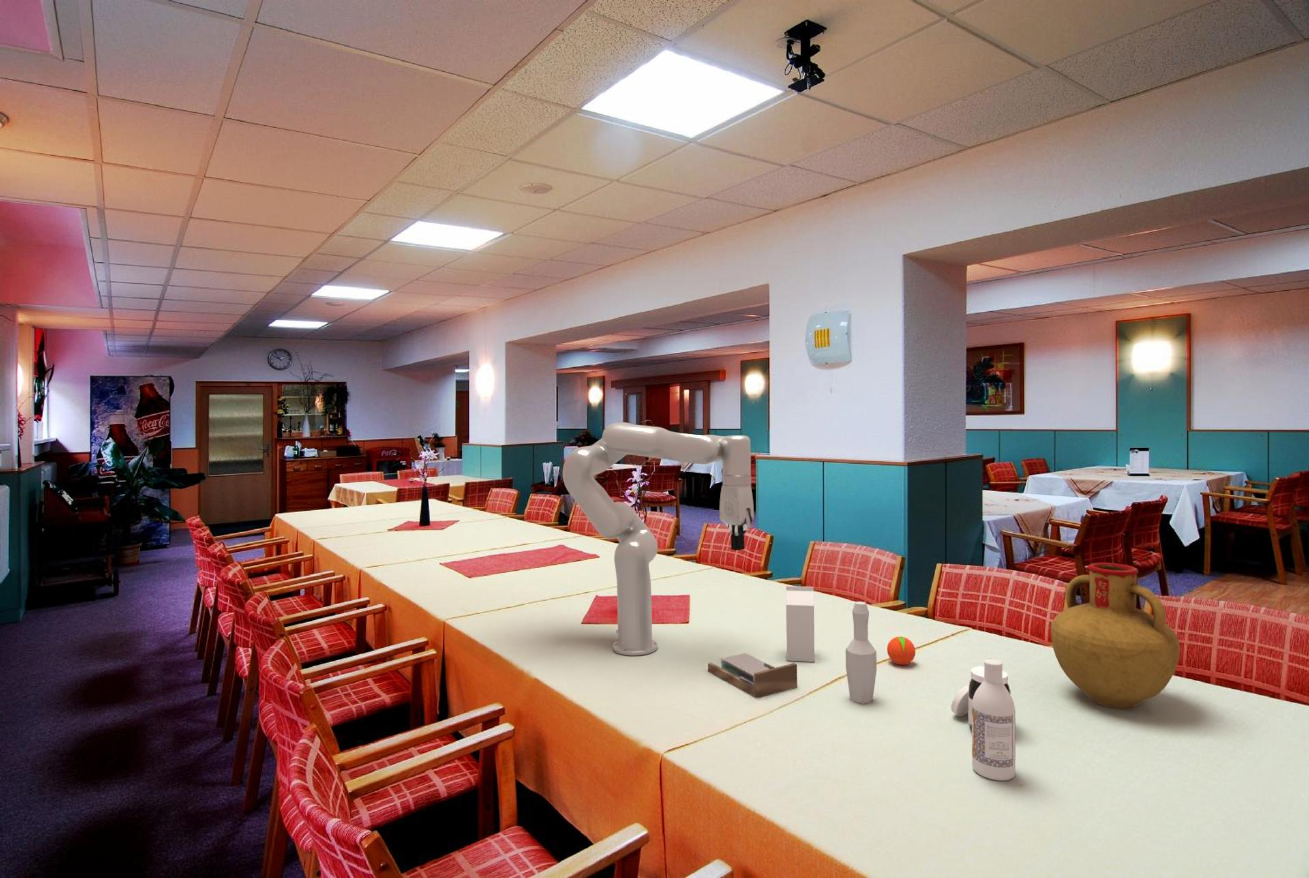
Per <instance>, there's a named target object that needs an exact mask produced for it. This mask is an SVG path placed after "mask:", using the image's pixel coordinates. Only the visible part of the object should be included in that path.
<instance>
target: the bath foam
mask: <svg viewBox="0 0 1309 878" xmlns="http://www.w3.org/2000/svg"><path fill="white" fill-rule="evenodd" d="M983 664H984V665H983V666H984V681H983V682H982V684H981V685H980V686H979V687H978V689H977V690H976V692H975V694H974V697H973V701H972V728H971V757H972V759H971V761H972V763H971V764H972V768H973V770H974V771H975V772H976V774H978V775H980V776H981V777H983V778H986V779H988V780H989V779H990V780H993V781H1001V782H1003V781H1009V780H1012V779H1013V778H1014V777H1015V776H1016V707H1015V703H1014V700H1013V698H1012V695H1010V693H1009V692H1008V690H1007V689H1006V687H1005V686H1004V684H1003V683H1002V670H1003V663H1002V661H1000V660H998V659H994V658H993V659H992V658H989V659H987V658H986V659H985V660H984V662H983Z"/></svg>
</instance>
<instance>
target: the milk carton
mask: <svg viewBox="0 0 1309 878" xmlns="http://www.w3.org/2000/svg"><path fill="white" fill-rule="evenodd" d="M785 588H786V589H785V593H786V596H785V598H786V599H785V617H786V618H785V619H786V623H785V626H786V627H785V628H786V631H785V632H786V661H791V662H809V663H810V662H811V663H812V662H813V663H814V662H815V661H816V660H815V599H814V598H815V595H814V593H815V592H814V587H813V586H799V585H798V586H796V585H794V586H791V585H788V586H787V585H786V586H785Z"/></svg>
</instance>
